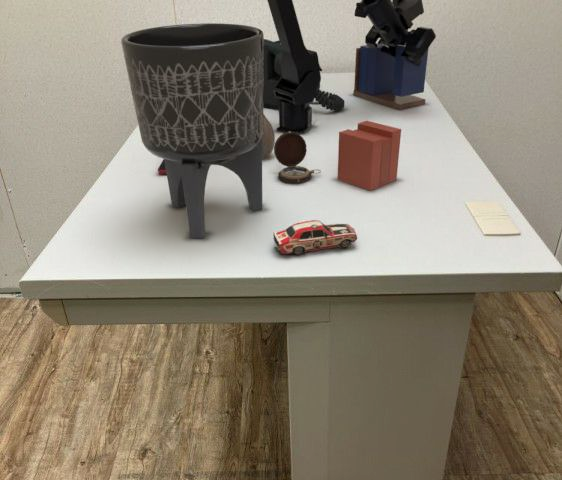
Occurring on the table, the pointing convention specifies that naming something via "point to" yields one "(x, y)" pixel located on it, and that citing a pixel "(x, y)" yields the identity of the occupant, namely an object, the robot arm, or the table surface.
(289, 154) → the compass
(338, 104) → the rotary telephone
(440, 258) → the table surface
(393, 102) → the book rack
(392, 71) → the navy books
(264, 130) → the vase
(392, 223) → the table surface
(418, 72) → the navy book
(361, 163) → the brick-red books
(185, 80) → the planter
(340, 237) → the race car
